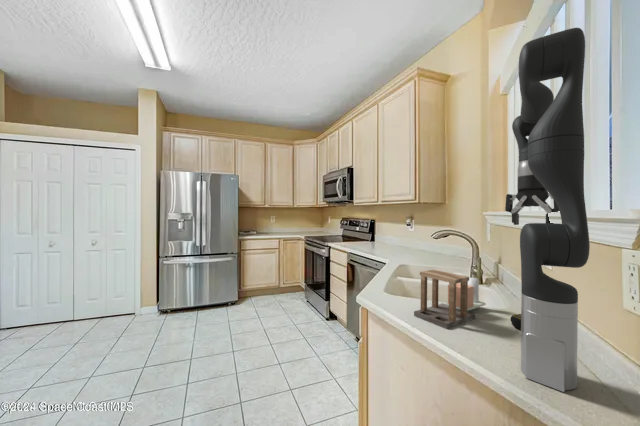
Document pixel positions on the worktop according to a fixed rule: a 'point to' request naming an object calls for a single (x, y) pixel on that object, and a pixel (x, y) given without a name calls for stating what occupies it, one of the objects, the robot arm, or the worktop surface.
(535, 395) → the worktop surface
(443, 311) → the brown table-shaped piece
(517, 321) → the tape measure
